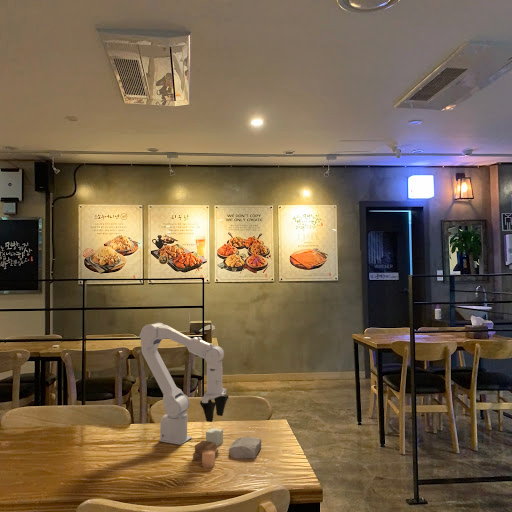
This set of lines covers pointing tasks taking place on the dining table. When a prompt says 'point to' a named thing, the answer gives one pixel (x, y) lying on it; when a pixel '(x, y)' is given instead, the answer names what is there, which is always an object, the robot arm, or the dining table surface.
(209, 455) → the tan rounded block
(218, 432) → the blue-grey cube
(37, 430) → the dining table surface
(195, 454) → the walnut slab
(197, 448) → the walnut block
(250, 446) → the stone block
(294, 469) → the dining table surface
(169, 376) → the robot arm
